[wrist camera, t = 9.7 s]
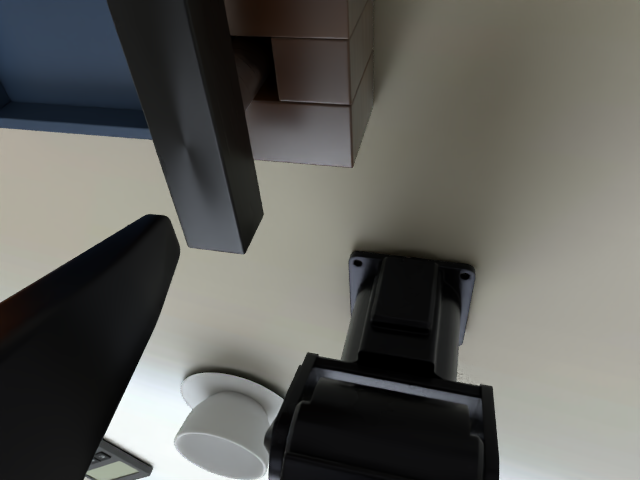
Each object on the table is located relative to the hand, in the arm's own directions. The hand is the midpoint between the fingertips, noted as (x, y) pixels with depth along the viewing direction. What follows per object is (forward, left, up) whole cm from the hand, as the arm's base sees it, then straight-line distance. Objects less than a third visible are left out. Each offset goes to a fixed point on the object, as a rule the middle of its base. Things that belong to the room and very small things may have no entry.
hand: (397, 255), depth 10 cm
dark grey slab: (-1, +6, -13) cm, 14 cm away
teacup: (-32, +14, -13) cm, 37 cm away
